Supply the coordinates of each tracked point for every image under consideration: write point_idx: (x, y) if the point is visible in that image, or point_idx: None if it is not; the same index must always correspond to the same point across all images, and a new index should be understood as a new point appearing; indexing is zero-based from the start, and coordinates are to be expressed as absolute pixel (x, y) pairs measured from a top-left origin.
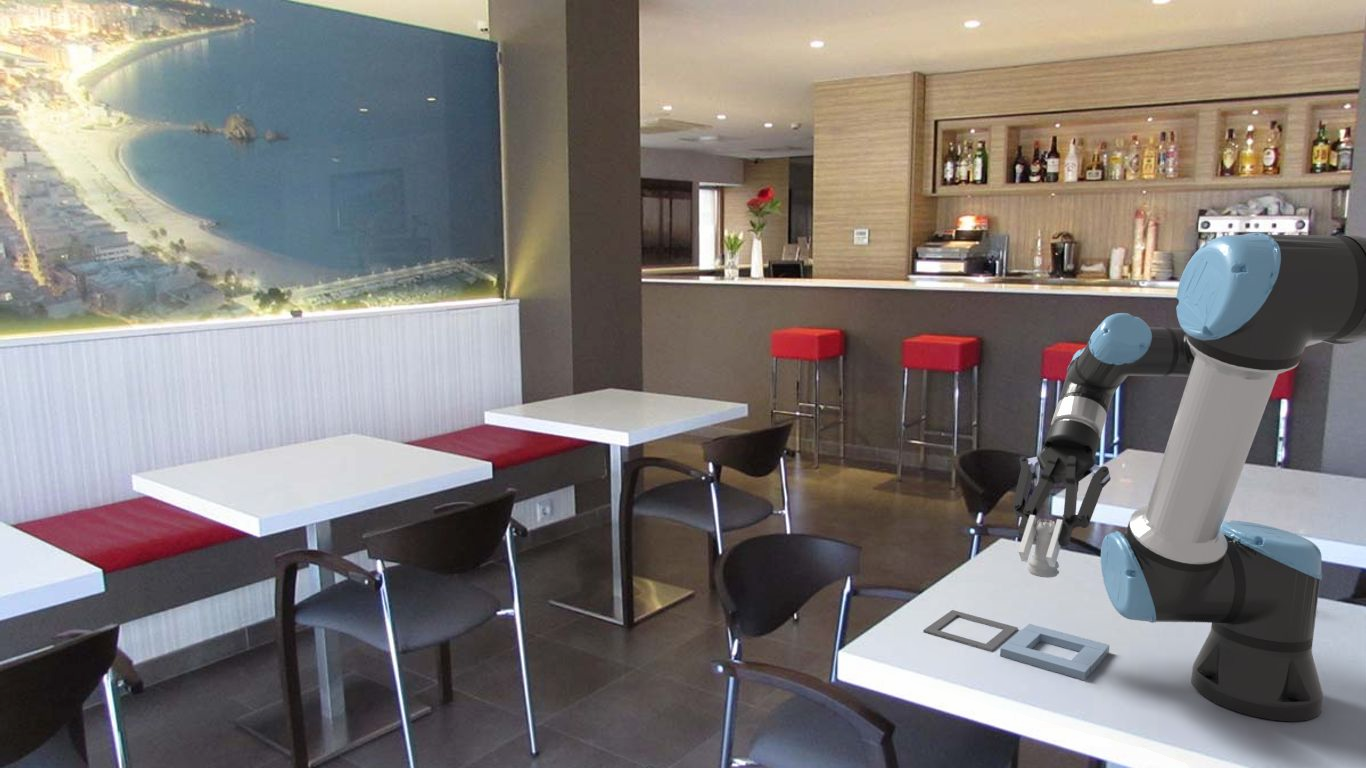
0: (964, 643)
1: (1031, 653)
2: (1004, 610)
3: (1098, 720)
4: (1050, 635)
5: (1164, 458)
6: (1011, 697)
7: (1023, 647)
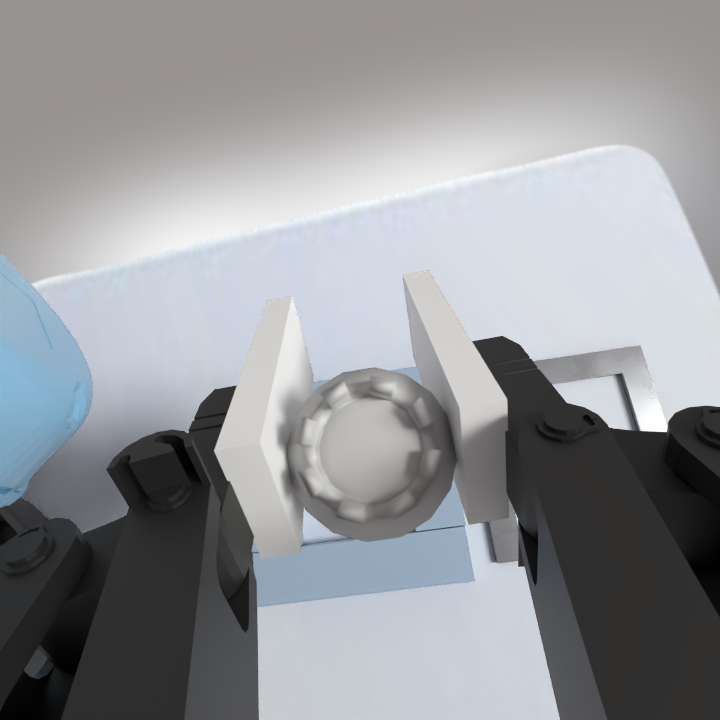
0: None
1: None
2: None
3: (177, 266)
4: (391, 541)
5: None
6: (321, 226)
7: None
